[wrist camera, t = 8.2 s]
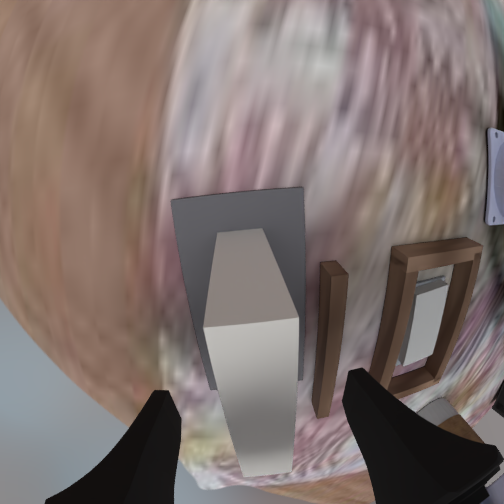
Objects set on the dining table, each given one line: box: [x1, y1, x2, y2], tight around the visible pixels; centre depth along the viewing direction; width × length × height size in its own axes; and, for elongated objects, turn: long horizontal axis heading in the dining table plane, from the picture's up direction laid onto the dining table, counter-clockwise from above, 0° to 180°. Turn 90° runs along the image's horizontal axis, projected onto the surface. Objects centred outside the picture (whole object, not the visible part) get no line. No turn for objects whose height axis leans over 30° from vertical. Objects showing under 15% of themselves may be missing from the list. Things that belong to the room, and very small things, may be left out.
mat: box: [171, 187, 306, 390], centre depth 16 cm, size 7×14×1 cm, turn 5°
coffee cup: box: [417, 398, 500, 481], centre depth 18 cm, size 8×8×15 cm
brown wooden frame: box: [312, 237, 483, 419], centre depth 17 cm, size 13×14×2 cm
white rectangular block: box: [203, 228, 299, 477], centre depth 12 cm, size 2×10×8 cm, turn 5°
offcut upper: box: [398, 279, 448, 367], centre depth 18 cm, size 3×7×1 cm, turn 10°
